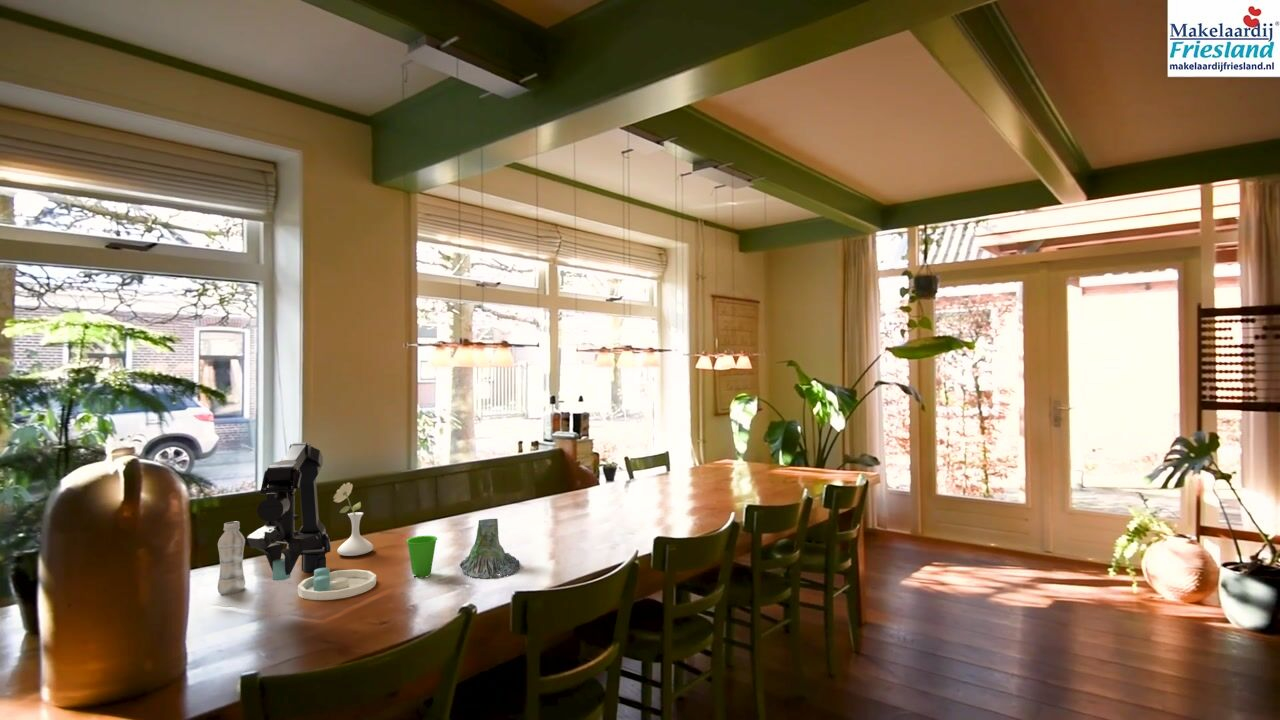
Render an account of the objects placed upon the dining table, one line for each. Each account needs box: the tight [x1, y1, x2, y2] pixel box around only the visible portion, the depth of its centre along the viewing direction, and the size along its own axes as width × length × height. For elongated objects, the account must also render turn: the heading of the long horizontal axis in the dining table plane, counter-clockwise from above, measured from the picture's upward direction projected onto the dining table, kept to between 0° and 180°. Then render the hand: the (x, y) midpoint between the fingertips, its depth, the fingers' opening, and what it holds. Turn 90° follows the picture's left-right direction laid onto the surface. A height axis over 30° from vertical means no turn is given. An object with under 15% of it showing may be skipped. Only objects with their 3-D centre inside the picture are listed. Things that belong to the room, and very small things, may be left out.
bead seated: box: [313, 567, 331, 578], centre depth 183 cm, size 4×4×4 cm
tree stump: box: [459, 518, 520, 580], centre depth 202 cm, size 18×20×18 cm
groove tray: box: [297, 568, 377, 601], centre depth 181 cm, size 20×20×3 cm
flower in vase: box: [332, 482, 374, 557], centre depth 218 cm, size 13×11×25 cm
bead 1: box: [272, 557, 291, 581], centre depth 165 cm, size 4×4×4 cm
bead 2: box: [314, 576, 330, 591], centre depth 176 cm, size 4×4×4 cm
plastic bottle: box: [217, 520, 246, 596], centre depth 179 cm, size 6×7×20 cm
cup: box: [405, 535, 438, 579], centre depth 195 cm, size 9×9×11 cm
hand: (281, 573), depth 165 cm, fingers closed on bead 1, 4 cm apart
